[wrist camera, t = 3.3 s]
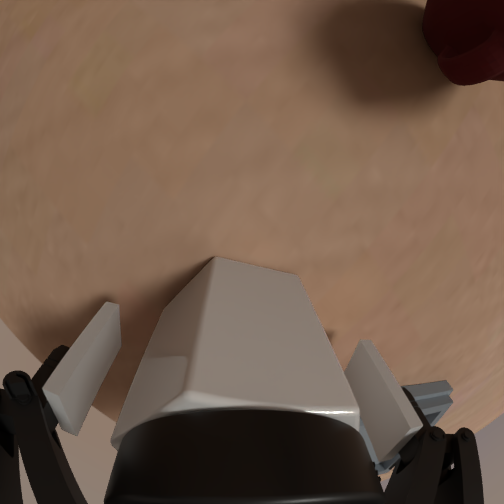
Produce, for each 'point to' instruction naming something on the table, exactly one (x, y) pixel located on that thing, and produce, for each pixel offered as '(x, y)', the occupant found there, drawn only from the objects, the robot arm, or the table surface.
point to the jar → (241, 402)
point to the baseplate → (432, 405)
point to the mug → (466, 38)
